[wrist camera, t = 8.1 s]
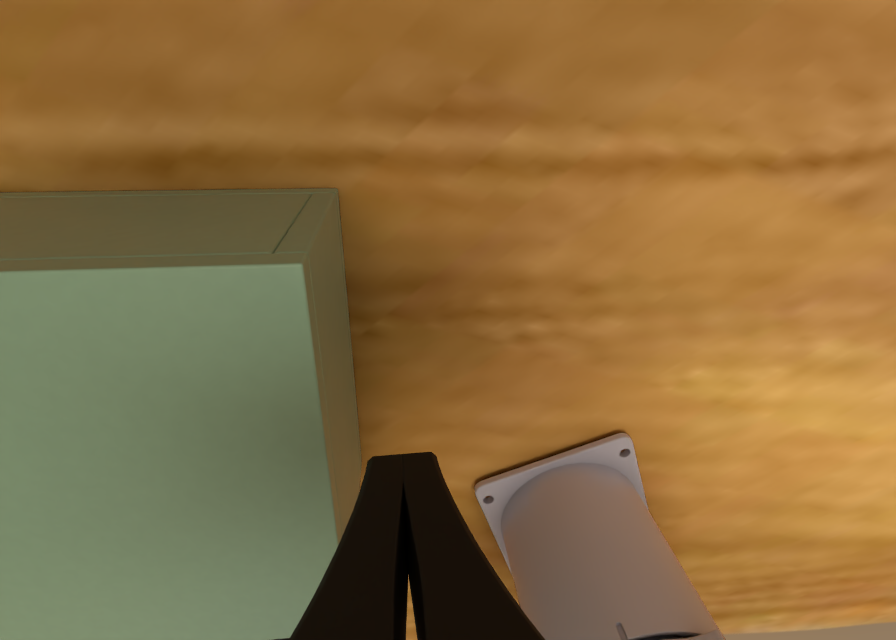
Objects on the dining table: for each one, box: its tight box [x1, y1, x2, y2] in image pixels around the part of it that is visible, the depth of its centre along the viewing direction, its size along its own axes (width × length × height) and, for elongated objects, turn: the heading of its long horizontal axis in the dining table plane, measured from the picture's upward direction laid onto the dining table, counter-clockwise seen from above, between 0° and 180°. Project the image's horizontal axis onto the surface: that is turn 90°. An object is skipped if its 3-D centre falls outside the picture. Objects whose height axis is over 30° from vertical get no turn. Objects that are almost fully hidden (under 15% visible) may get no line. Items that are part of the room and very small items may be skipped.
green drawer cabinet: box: [0, 188, 362, 640], centre depth 16 cm, size 13×12×8 cm
